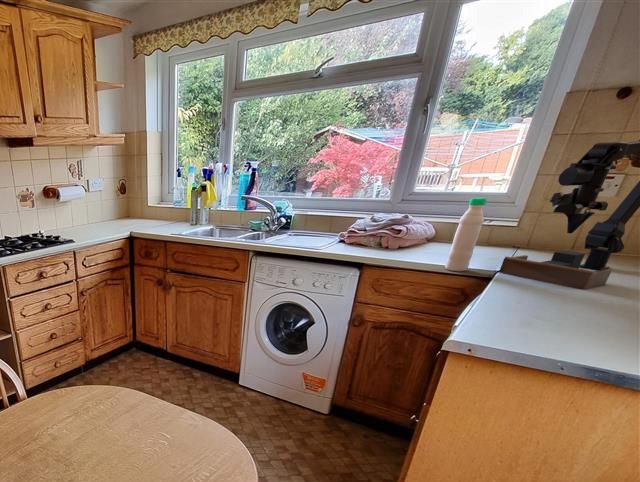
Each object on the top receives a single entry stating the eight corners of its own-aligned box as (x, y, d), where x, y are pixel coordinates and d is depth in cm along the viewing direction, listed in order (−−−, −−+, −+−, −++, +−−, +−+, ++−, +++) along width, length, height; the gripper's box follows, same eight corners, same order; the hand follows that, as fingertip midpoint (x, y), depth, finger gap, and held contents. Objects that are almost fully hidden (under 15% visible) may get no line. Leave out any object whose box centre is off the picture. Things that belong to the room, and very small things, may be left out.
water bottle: (460, 272, 159) (484, 199, 147) (440, 269, 164) (462, 198, 153) (470, 270, 162) (495, 198, 150) (451, 266, 167) (473, 196, 155)
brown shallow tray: (519, 268, 162) (525, 253, 159) (604, 284, 141) (613, 267, 138) (498, 272, 158) (504, 256, 155) (583, 289, 137) (591, 271, 135)
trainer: (553, 273, 155) (563, 250, 151) (574, 277, 149) (585, 253, 146) (529, 277, 151) (539, 254, 147) (551, 281, 145) (561, 257, 142)
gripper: (578, 182, 154) (559, 228, 162) (545, 185, 149) (526, 232, 156) (618, 183, 145) (596, 232, 153) (585, 186, 140) (563, 236, 147)
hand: (569, 233), depth 152 cm, fingers closed
